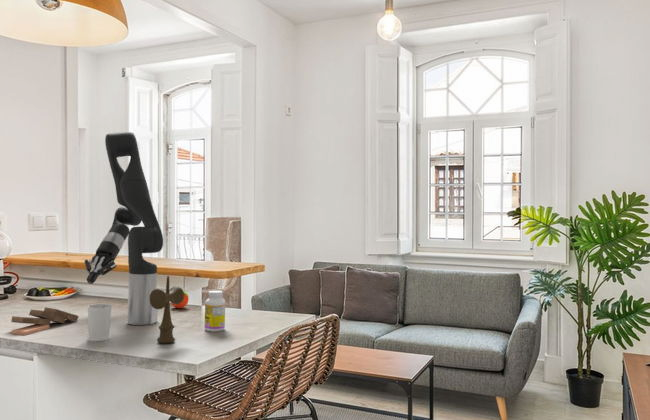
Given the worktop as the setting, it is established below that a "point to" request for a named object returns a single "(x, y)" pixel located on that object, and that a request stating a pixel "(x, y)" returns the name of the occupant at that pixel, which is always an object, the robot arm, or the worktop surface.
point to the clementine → (182, 301)
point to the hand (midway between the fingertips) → (89, 282)
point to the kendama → (166, 309)
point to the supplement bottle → (215, 312)
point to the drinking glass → (99, 322)
